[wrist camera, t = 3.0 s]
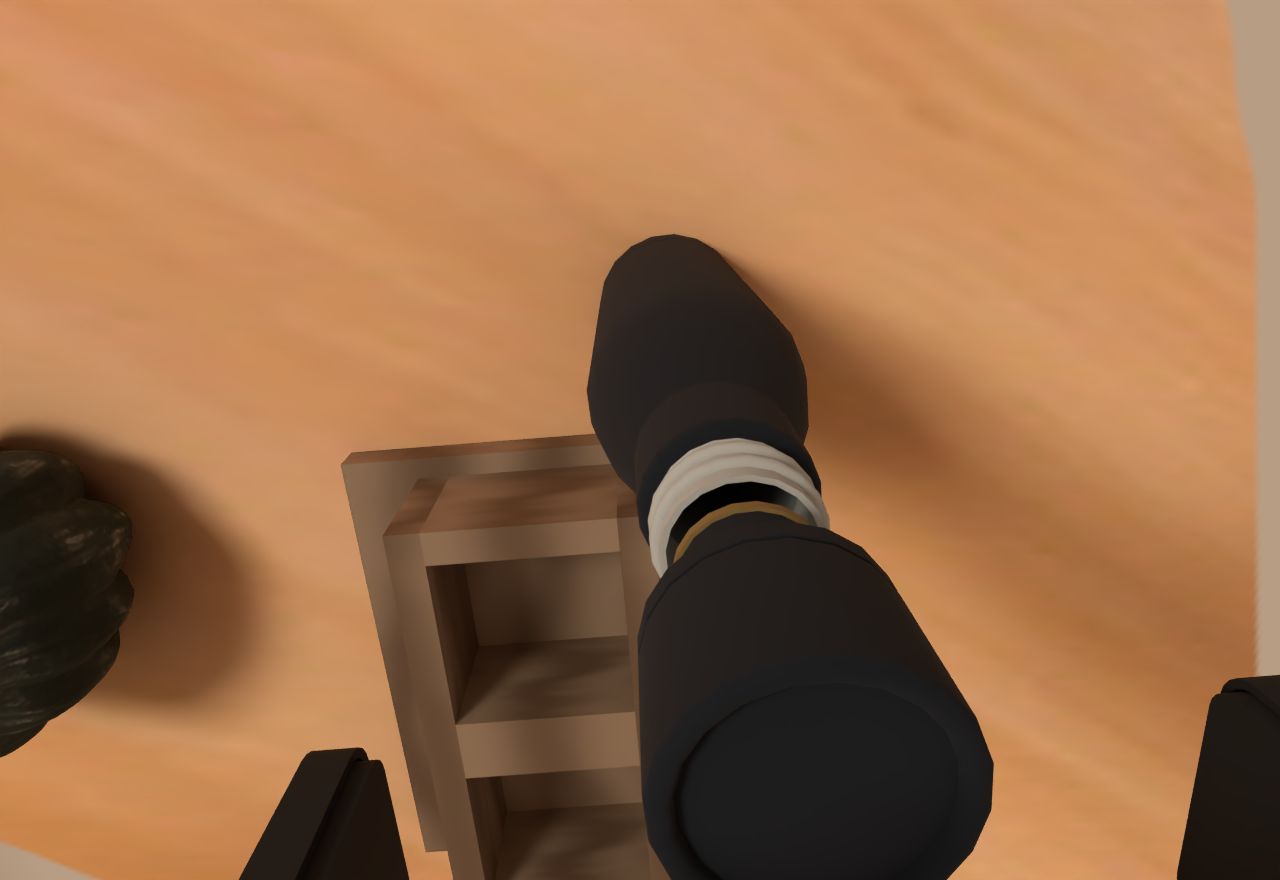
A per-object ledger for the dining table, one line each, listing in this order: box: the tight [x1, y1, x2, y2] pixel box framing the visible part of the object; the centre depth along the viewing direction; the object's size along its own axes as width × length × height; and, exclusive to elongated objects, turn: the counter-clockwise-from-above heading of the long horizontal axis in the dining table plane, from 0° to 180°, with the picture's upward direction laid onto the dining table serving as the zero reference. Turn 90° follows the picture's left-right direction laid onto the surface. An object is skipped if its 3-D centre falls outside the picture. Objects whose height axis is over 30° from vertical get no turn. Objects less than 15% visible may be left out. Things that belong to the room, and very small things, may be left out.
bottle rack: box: [341, 434, 671, 880], centre depth 39 cm, size 18×24×8 cm
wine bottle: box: [587, 234, 994, 880], centre depth 23 cm, size 6×6×30 cm
